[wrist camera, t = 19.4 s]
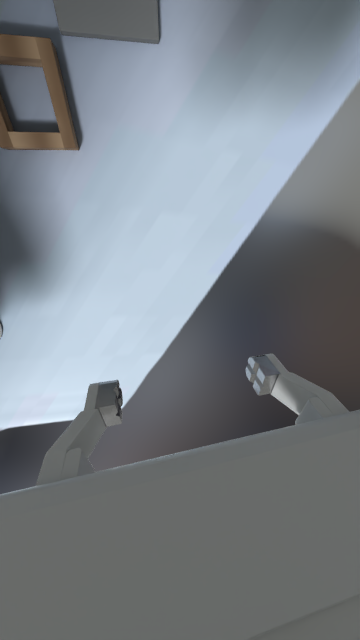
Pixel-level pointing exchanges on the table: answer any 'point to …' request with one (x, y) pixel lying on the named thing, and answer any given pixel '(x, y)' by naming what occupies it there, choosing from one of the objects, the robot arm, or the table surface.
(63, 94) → the walnut dock
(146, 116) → the table surface
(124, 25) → the grey mat
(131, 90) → the table surface
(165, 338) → the table surface
